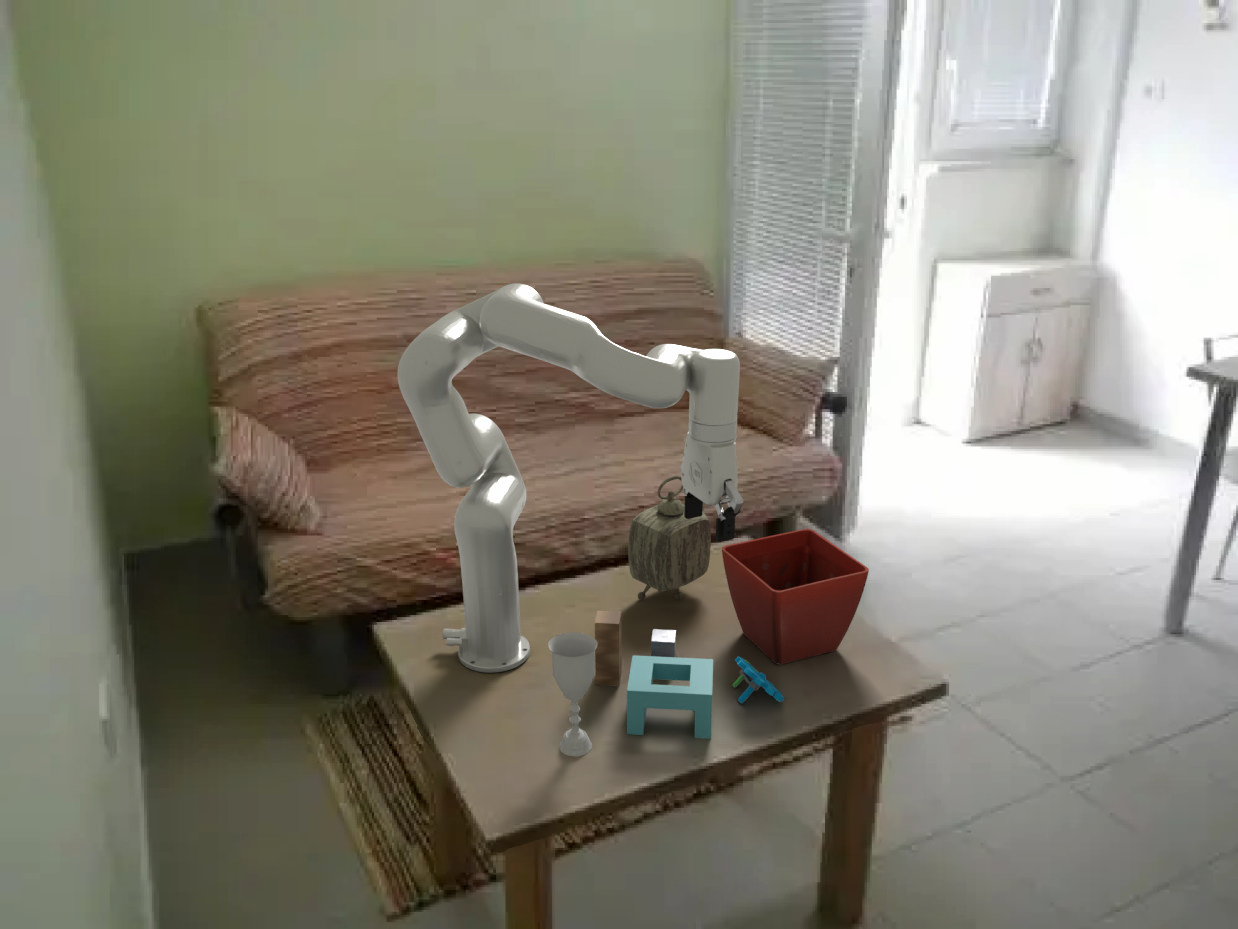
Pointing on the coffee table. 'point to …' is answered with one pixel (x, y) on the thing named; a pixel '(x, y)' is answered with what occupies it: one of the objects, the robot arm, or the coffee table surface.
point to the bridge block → (670, 690)
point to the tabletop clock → (668, 545)
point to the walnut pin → (608, 648)
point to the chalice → (573, 682)
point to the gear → (754, 681)
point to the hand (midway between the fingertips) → (708, 528)
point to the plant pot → (793, 593)
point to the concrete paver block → (663, 643)
